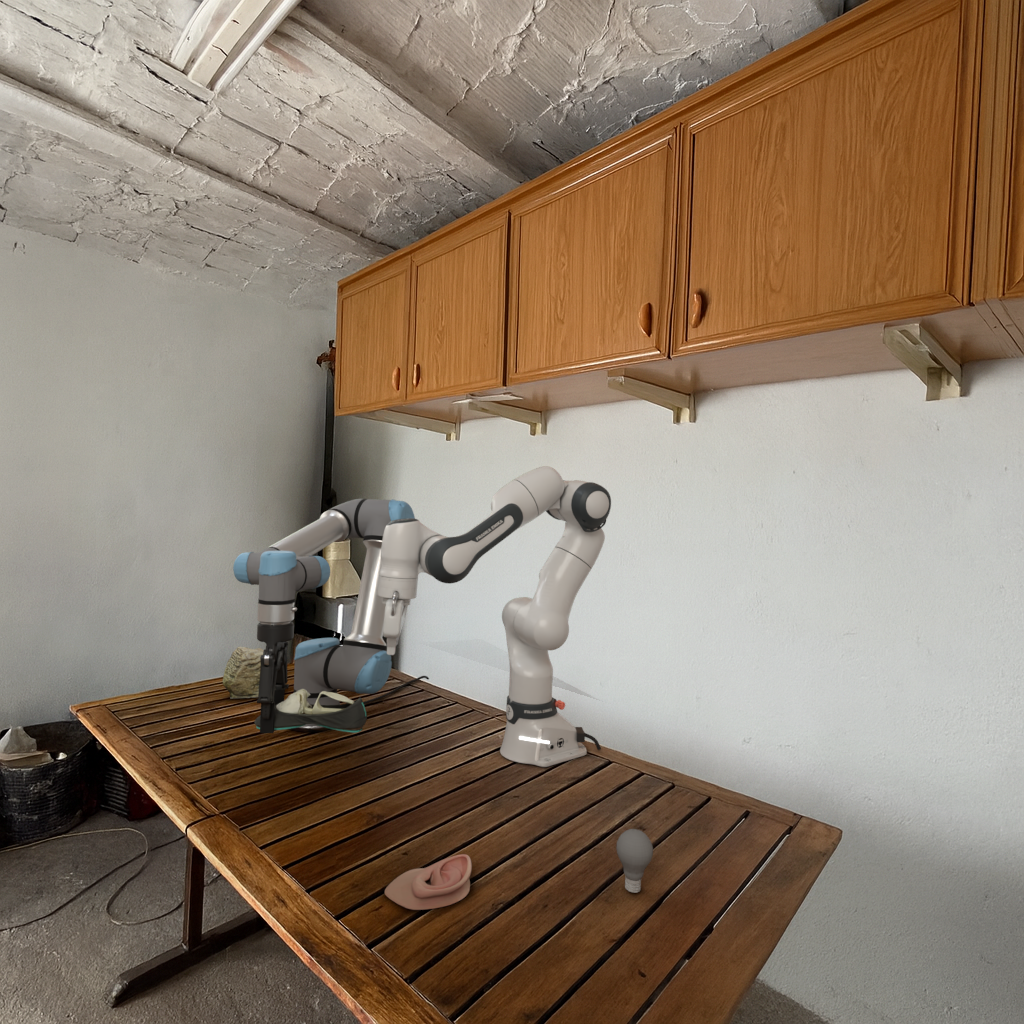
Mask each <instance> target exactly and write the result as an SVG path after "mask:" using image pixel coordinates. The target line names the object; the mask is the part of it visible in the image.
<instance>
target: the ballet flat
mask: <svg viewBox="0 0 1024 1024" xmlns="http://www.w3.org/2000/svg"><path fill="white" fill-rule="evenodd" d="M321 694H325V695H327V696H329V697H331V698H333V699H336V700H339V702H343V703H342V704H341V703H340V705H320V704H319V699H320V696H321ZM309 695H310V694H309V693H308V692H307V691H306V690H305V689H301V690H298V691H297V692H295V693H294V692H293V693H291V694H289V695H288V696H287V698H286V699H284V701H283V702H281V703H279V704H276V705H275V718H274V731H283V730H292V729H291V728H297V727H301V726H304V725H306V724H315V725H318V726H322V727H326V728H330V729H329V730H335V731H339V732H343V733H355V734H357V733H360V732H361V731H362V730H363V728H364V726H365V725H366V723H367V719H368V715H367V710H366V707H365V704H363V702H364V700H363V699H362V698H361V697H359V698H357V699H355V700H352V699H350V698H348V697H347V696H345V695H343V694H339V693H338V692H337V693H333V692H326V691H322V692H321V693H320V694H319V696H318V698H317V700H316V703H315V705H314V704H309V703H308V702H307V697H309ZM260 716H261V714H260V715H258V716H257V717H256V718H255V720H254V725H255V727H256V729H258V730H260Z"/></svg>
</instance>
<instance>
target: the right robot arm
mask: <svg viewBox="0 0 1024 1024" xmlns="http://www.w3.org/2000/svg"><path fill="white" fill-rule="evenodd" d="M611 508H612V498H611V494H610V493H609V491H608V490H607V489H606V488H605V487H604V486H602V485H600V484H599V483H596V482H593V481H590V482H589V481H585V480H577V479H576V480H563V477H562V476H561V474H560V472H558V471H557V469H555V468H553V467H551V466H549V465H543V466H542V465H541V466H539V467H536V468H534V469H531V470H529V471H527V472H525V473H523V474H521V475H519V476H517V477H515V478H514V479H512V480H510V481H509V482H507V483H506V484H504V485H503V486H502V487H501V488H499V490H497V492H495V493H494V494H493V495H492V497H491V501H490V509H491V512H490V514H489V515H488V516H487V517H486V518H484V519H483V520H482V521H480V522H478V523H477V524H476V525H474V526H473V527H471V528H470V529H469V530H468V531H466V532H464V533H462V534H459V535H455V536H445V535H443V534H441V533H438V532H436V531H434V530H432V528H431V529H430V528H429V527H428V526H426V525H425V524H423V523H422V522H421V521H420V520H419V519H417V518H415V519H413V518H409V519H397V520H393V521H391V522H389V523H388V524H387V525H386V527H385V530H384V534H383V539H382V546H381V561H382V566H381V570H380V572H379V581H378V592H377V595H378V596H380V597H383V600H382V603H383V604H386V606H385V614H384V624H383V636H382V637H384V638H386V651H387V654H388V655H391V656H394V655H395V654H396V647H397V645H398V644H399V638H400V636H401V633H402V630H403V626H404V624H405V620H406V616H407V612H408V607H409V606H410V605H411V602H412V601H411V600H414V599H417V594H418V584H419V574H421V573H425V574H427V575H429V576H431V577H433V578H434V579H435V580H437V581H438V582H440V583H443V584H455V583H459V582H460V581H462V580H463V579H465V578H466V577H467V576H468V575H469V574H470V572H471V571H472V569H473V568H474V566H475V565H476V564H477V562H478V561H479V560H480V558H482V557H483V556H484V555H485V554H487V553H488V552H489V551H491V550H492V549H493V548H494V547H496V546H497V545H498V544H500V543H501V542H503V540H505V539H506V538H508V537H509V536H510V535H511V534H513V533H514V532H515V531H517V530H519V529H520V528H522V527H524V526H525V525H527V524H529V523H530V522H532V521H534V520H535V519H537V518H538V517H540V516H541V515H542V514H544V513H546V514H548V516H550V517H552V518H553V519H555V520H558V521H562V522H564V530H563V533H562V536H561V538H560V539H559V541H558V542H557V543H556V544H555V546H554V548H553V549H552V551H551V552H550V554H549V556H548V558H547V559H546V560H545V562H544V564H543V566H542V567H541V569H540V571H539V573H538V583H537V587H536V590H535V592H534V595H533V597H528V596H520V597H515V598H511V599H510V600H508V602H506V603H505V605H504V607H503V609H502V612H501V620H502V624H503V627H504V631H505V637H506V647H507V653H508V654H507V655H508V662H509V677H508V678H509V680H508V682H509V683H508V695H507V697H506V705H505V706H506V708H505V716H506V717H505V719H506V724H505V729H504V735H503V738H502V743H501V745H500V749H499V753H500V755H501V756H502V757H503V758H505V759H507V760H509V761H512V762H515V763H519V764H527V765H533V766H537V767H540V768H548V767H551V766H554V765H559V764H561V763H564V762H567V761H571V760H575V759H577V758H580V757H584V756H587V754H588V752H587V747H586V746H585V745H584V744H583V743H585V742H586V738H587V739H590V741H592V742H593V743H594V744H595V746H596V749H597V750H598V751H600V750H601V749H602V748H601V745H600V743H599V740H597V738H596V737H594V736H593V735H591V734H589V733H586V732H585V731H584V729H583V727H582V726H575V725H574V724H573V723H572V722H571V721H569V720H568V719H567V718H566V717H564V715H562V714H561V713H560V712H558V709H559V710H561V711H562V710H565V708H566V702H564V701H563V700H561V699H558V700H557V699H556V698H554V696H553V679H554V668H553V667H554V666H553V664H552V661H551V659H550V656H549V651H554V650H555V651H556V650H557V649H560V648H561V647H562V646H563V645H564V644H565V643H566V641H567V639H568V638H569V633H570V626H569V619H570V615H571V612H572V609H573V605H574V603H575V599H576V597H577V595H578V593H579V592H580V589H581V587H582V586H583V584H584V582H585V581H586V579H587V578H588V575H590V573H591V570H592V569H593V567H594V565H595V564H596V561H597V560H598V558H599V555H600V553H601V551H602V549H603V545H604V543H605V540H606V535H605V532H604V529H602V528H603V527H604V526H605V525H606V523H607V519H608V517H609V514H610V512H611ZM557 708H558V709H557Z"/></svg>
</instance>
